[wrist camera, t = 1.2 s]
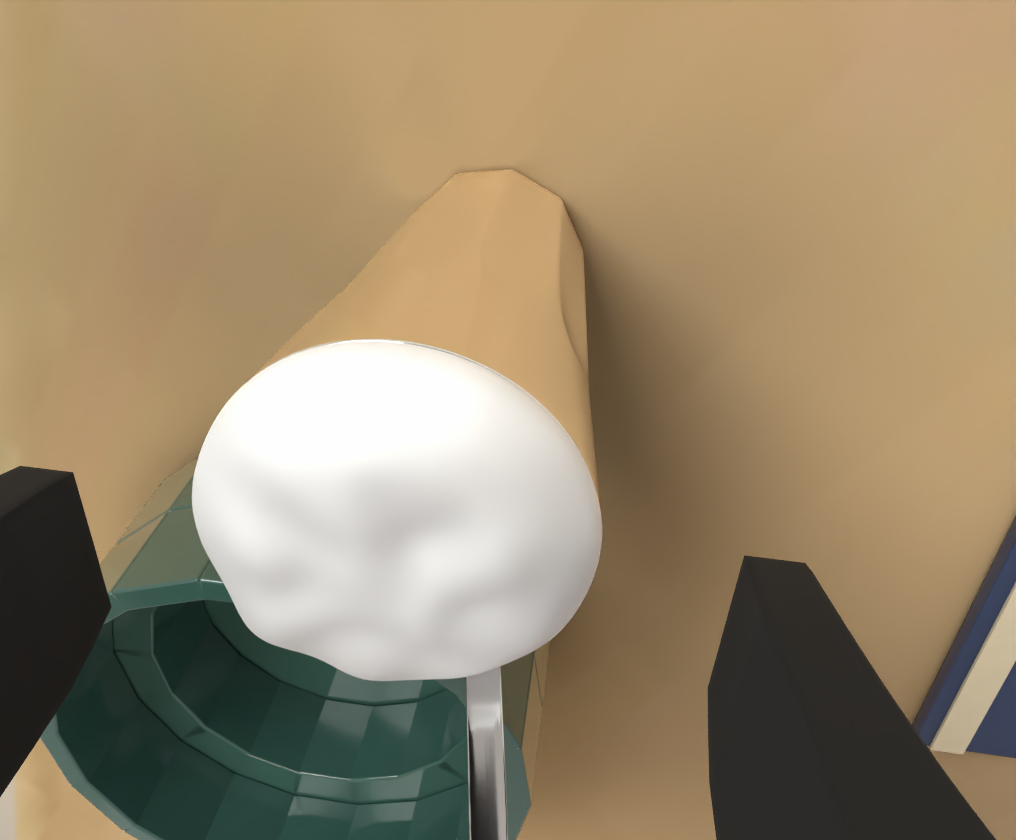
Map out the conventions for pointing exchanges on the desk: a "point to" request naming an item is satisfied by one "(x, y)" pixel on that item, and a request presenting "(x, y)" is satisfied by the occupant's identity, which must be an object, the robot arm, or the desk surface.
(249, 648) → the bowl
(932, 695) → the blue notebook
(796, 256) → the desk surface
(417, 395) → the milkshake
